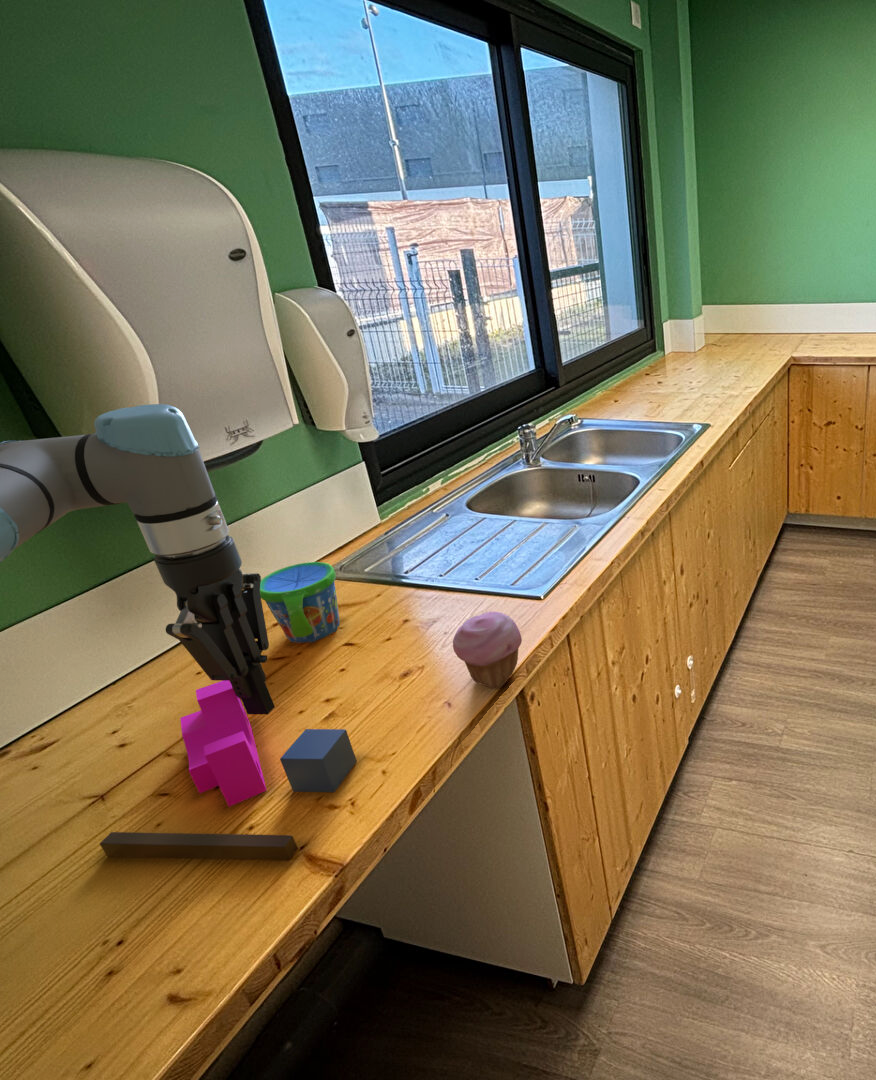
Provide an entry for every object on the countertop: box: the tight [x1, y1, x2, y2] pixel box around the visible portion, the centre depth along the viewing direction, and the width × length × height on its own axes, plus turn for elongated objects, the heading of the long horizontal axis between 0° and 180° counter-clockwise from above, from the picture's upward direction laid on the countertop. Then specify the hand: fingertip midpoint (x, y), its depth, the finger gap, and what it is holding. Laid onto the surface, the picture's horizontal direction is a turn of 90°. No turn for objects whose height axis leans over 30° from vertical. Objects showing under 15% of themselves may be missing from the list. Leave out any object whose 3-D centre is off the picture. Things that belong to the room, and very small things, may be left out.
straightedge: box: [99, 831, 299, 861], centre depth 73 cm, size 20×2×2 cm, turn 87°
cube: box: [279, 728, 358, 793], centre depth 82 cm, size 5×5×5 cm
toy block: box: [179, 680, 267, 807], centre depth 83 cm, size 15×6×8 cm, turn 38°
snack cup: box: [260, 561, 340, 644], centre depth 110 cm, size 16×10×10 cm
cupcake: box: [452, 611, 523, 689], centre depth 97 cm, size 9×9×10 cm
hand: (261, 710), depth 89 cm, fingers closed
